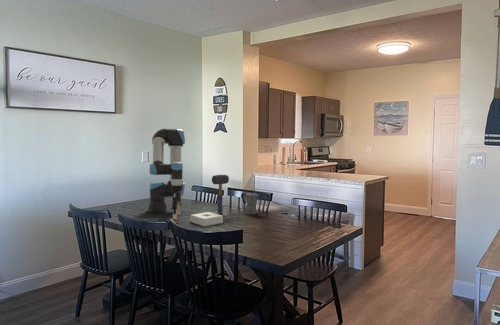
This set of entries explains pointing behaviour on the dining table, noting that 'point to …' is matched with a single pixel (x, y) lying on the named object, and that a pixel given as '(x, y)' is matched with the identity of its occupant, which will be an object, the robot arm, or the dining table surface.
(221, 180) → the rubber mallet
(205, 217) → the socket block
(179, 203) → the beech peg
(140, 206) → the dining table surface
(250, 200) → the coffeepot
